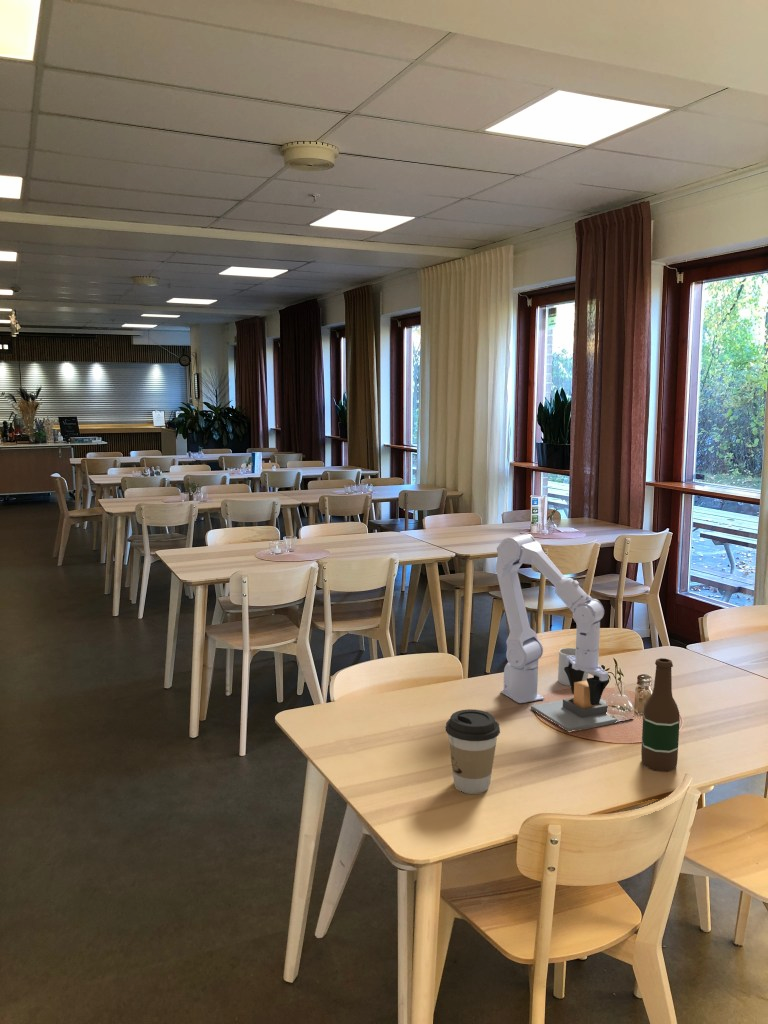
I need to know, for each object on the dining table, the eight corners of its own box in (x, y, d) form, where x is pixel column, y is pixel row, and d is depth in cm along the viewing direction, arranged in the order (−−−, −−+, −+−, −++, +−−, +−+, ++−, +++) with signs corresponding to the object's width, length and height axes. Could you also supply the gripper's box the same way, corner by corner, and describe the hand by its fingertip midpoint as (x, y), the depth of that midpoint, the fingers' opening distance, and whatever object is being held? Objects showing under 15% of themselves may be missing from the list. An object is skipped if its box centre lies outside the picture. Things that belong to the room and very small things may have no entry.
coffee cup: (435, 779, 173) (435, 712, 171) (481, 769, 177) (482, 704, 175) (460, 803, 163) (461, 732, 160) (509, 792, 167) (511, 723, 165)
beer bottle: (672, 775, 175) (678, 668, 171) (636, 766, 179) (641, 661, 175) (680, 761, 181) (686, 658, 178) (645, 753, 185) (650, 652, 182)
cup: (571, 676, 236) (572, 646, 235) (596, 686, 227) (597, 656, 226) (552, 680, 232) (553, 650, 231) (577, 691, 224) (578, 660, 223)
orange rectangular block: (573, 708, 209) (574, 682, 208) (585, 706, 211) (586, 680, 210) (583, 714, 205) (584, 687, 204) (595, 711, 207) (596, 685, 206)
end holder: (531, 709, 211) (531, 698, 211) (593, 697, 219) (593, 687, 219) (568, 732, 197) (568, 720, 196) (633, 719, 205) (634, 708, 204)
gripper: (557, 641, 211) (555, 691, 213) (592, 658, 198) (590, 711, 200) (579, 638, 214) (577, 687, 215) (615, 654, 200) (613, 707, 202)
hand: (585, 699), depth 208 cm, fingers open, 7 cm apart
